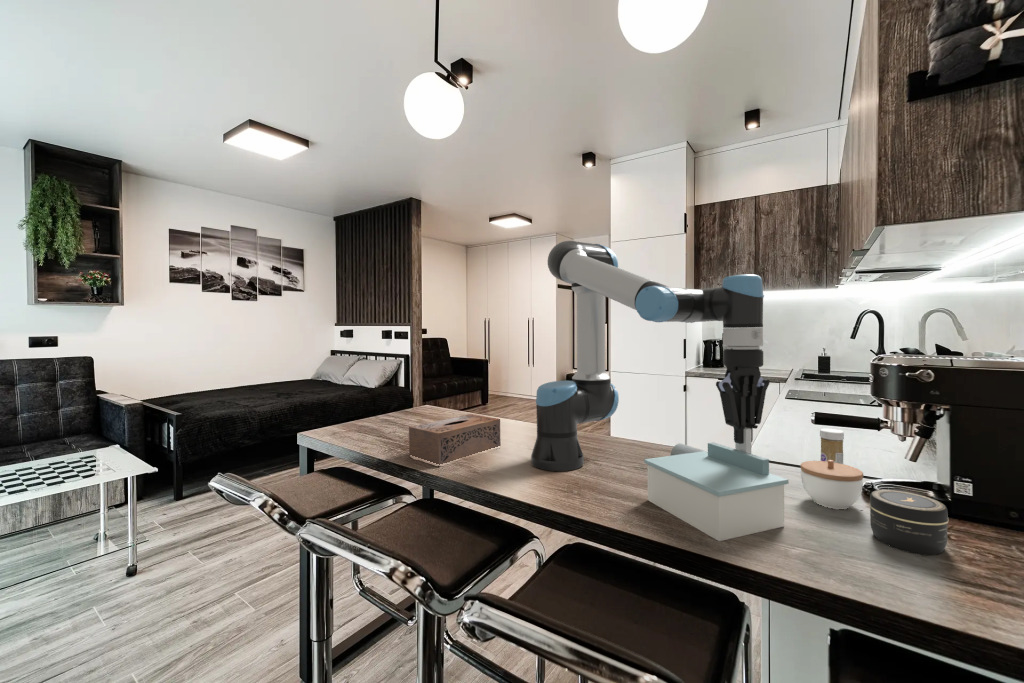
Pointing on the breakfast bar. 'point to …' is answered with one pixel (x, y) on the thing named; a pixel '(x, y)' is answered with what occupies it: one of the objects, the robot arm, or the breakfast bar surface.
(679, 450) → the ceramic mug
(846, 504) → the lidded jar
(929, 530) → the jar
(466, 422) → the tissue box cover
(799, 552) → the breakfast bar surface
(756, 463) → the lid
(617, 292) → the robot arm
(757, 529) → the box
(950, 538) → the breakfast bar surface
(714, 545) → the breakfast bar surface
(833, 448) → the sprinkles bottle
